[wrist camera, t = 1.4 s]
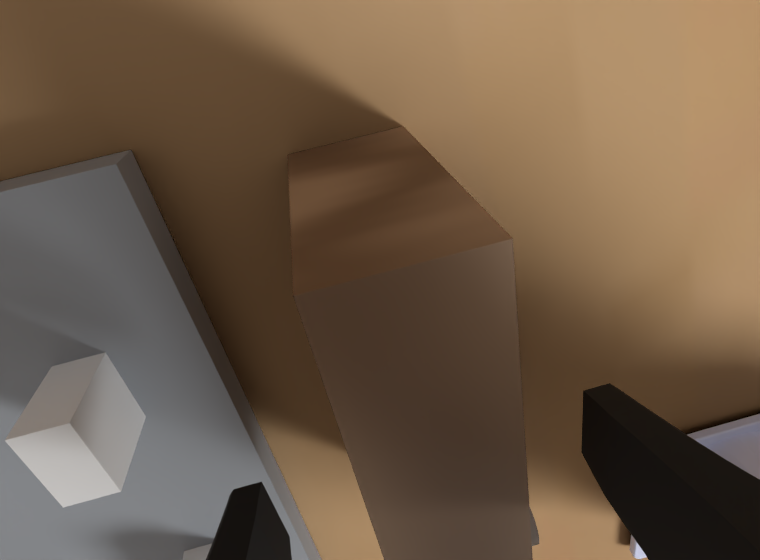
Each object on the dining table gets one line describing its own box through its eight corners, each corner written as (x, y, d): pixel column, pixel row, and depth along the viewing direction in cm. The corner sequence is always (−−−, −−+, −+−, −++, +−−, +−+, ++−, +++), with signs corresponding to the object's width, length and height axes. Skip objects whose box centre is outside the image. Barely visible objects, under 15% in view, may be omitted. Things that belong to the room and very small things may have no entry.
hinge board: (130, 149, 12) (73, 204, 8) (334, 587, 22) (343, 687, 19) (-400, 277, 11) (-675, 388, 8) (65, 665, 21) (27, 782, 18)
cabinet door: (432, 117, 13) (569, 223, 7) (475, 434, 19) (567, 638, 13) (287, 153, 12) (293, 296, 6) (379, 461, 19) (426, 681, 13)
